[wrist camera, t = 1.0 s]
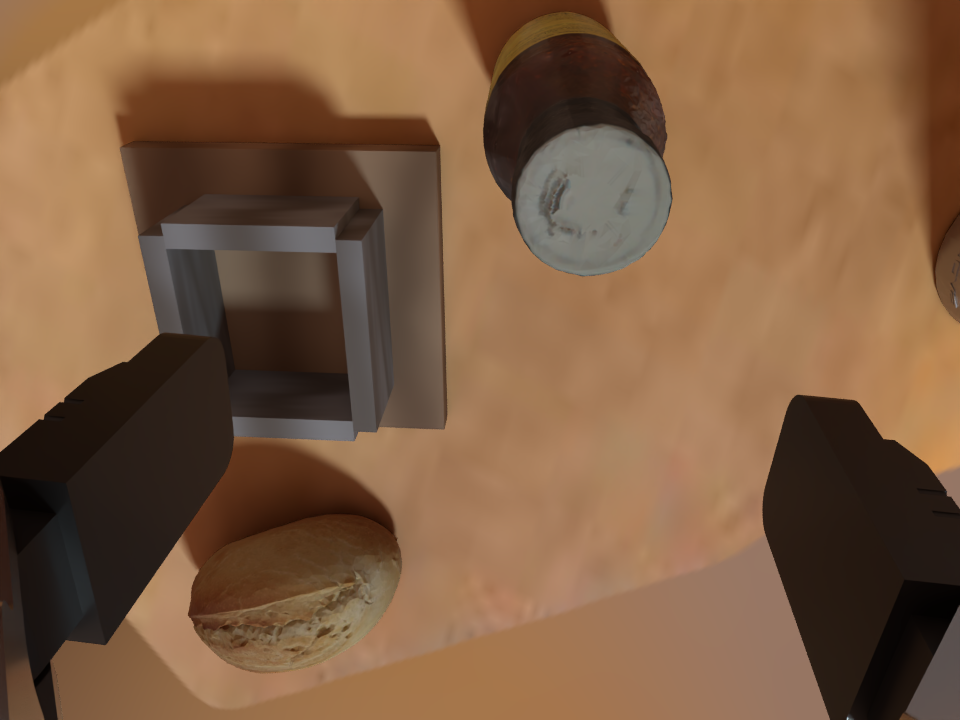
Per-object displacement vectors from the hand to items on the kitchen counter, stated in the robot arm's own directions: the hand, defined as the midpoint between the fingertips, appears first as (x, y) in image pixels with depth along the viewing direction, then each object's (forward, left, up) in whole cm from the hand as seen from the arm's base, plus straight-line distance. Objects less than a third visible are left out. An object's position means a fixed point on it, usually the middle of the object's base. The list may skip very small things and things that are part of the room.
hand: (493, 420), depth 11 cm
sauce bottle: (-1, -1, -30) cm, 30 cm away
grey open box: (+13, +10, -29) cm, 34 cm away
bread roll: (+15, +30, -30) cm, 45 cm away
